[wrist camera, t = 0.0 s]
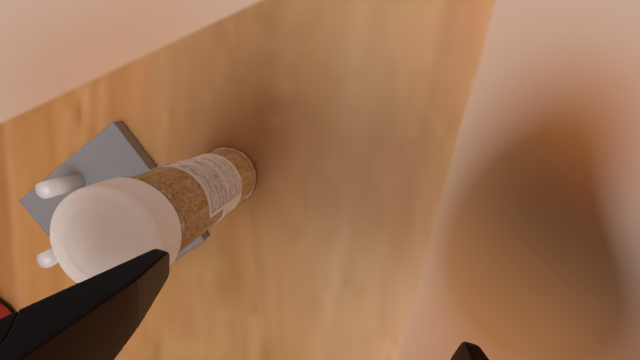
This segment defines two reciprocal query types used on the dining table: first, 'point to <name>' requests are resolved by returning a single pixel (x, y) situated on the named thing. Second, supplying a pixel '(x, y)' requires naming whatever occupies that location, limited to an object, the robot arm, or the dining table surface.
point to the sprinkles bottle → (148, 211)
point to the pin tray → (89, 177)
